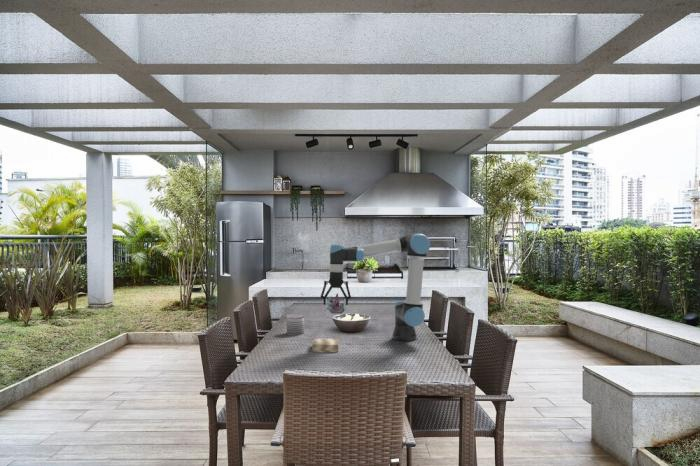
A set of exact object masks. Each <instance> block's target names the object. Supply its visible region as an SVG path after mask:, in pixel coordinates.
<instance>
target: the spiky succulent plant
mask: <svg viewBox="0 0 700 466" xmlns="http://www.w3.org/2000/svg"><path fill="white" fill-rule="evenodd" d="M327 301H328V302H327V311H329V313H330V314H336V315H337V314H338V315H339V314H343V313H344V312H345V311H344V302H341V303H340V299H339V293H336V294H335V298H334V299H333V296H328V298H327Z"/></svg>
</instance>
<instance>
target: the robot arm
mask: <svg viewBox="0 0 700 466" xmlns="http://www.w3.org/2000/svg"><path fill="white" fill-rule="evenodd" d="M430 248H431V242H430V239H429V237H428V236H426V235H425V234H423V233H411V234H407V235H404V236H400V237H396V238H395V239H392V240H385V241H380V242H375V243H369V244H363V245H357V246H352V247H349V246H348V247H344V245H343V244H331V245H330V250H329V279H328V280H324V282H323V288H322V291H321V294H320V298H321V299H323V305H325V312H327V311H328V309H327V308H328V298H327V297H329V296H328V295H329V293H330V292H331V291H332V289H340V291H341V292H342V295H343V296H344V301H343V304H344V312H346V308H347V307H346V306H348V304H349V299H352V295H351V292H350V288H349V281H348V280H344V273H343V271H344V262H357V263H359V262H363V261H364V259H365V258H370V257H376V256H380V255H387V254H392V253H398V254H401V253H406V256H407V258H408V268H407V269H408V270H407V283H406V284H407V285H406V295H405V299H404V300H402V301H401V300H400V301H396V302H395V304H394V314H395V315H394V328H393V330H392V335H391V338H392V339H393V340H395V341H401V342H403V341H404V342H409V341H416V340H417V339H418V335H417V332H416V327H418V326H420V325H421V324H423V322H424V321H425V318H426V317H425V312H424V309H423V308H424V307H423V306H424V303H423V302H422V286H423V272H424V261H425V259H427V255H428V251H429V250H430ZM328 284H329V285H330V286H329V288H328V289H327V291H326V288H327V285H328ZM343 284H344V285H345V288H346V292H347V294H346V292H345V290H344V288H343V286H342V285H343ZM325 291H326V293H325Z"/></svg>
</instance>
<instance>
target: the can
mask: <svg viewBox="0 0 700 466" xmlns="http://www.w3.org/2000/svg"><path fill="white" fill-rule="evenodd" d="M286 334H287V336H303V335H305V314H303V313H294V314H288V315H287V316H286ZM302 334H303V335H302Z"/></svg>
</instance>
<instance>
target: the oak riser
mask: <svg viewBox="0 0 700 466" xmlns="http://www.w3.org/2000/svg"><path fill="white" fill-rule="evenodd" d="M311 352H312V353H339V340H338V338H313V339H312V351H311Z"/></svg>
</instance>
